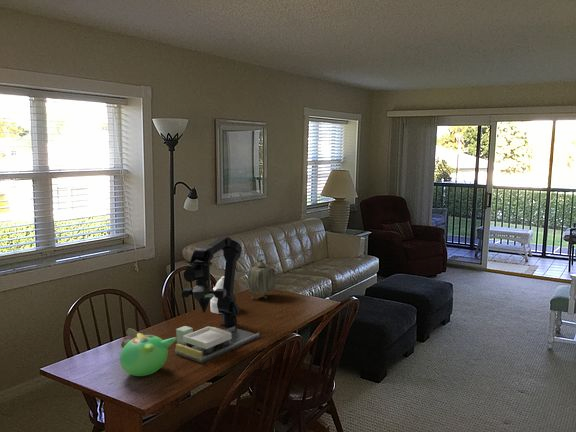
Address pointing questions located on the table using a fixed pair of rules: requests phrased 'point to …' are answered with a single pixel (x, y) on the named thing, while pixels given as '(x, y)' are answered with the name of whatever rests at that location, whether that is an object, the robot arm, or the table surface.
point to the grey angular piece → (131, 333)
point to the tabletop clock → (261, 278)
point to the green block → (182, 333)
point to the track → (216, 346)
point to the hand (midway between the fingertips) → (204, 312)
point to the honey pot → (214, 300)
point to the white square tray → (208, 338)
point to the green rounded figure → (144, 354)
